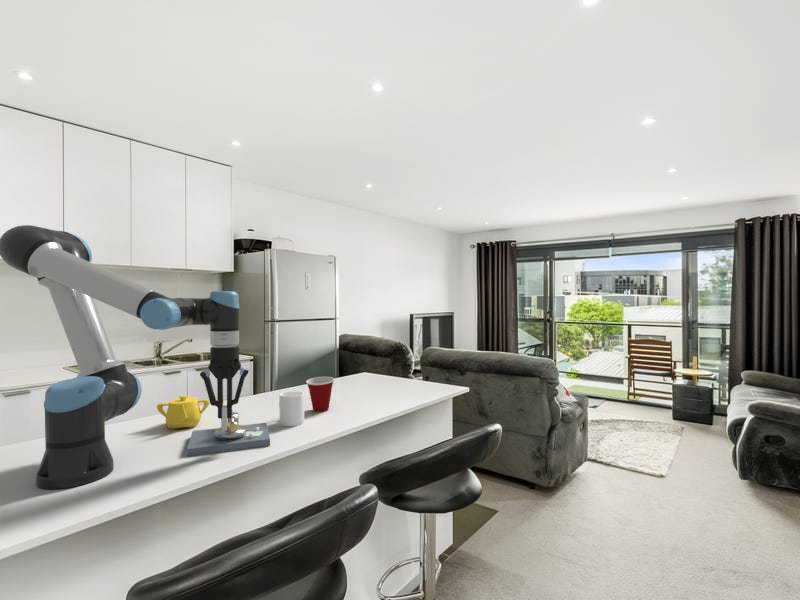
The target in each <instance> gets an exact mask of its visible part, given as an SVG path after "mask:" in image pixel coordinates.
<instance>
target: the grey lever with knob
mask: <svg viewBox="0 0 800 600" xmlns="http://www.w3.org/2000/svg"><path fill="white" fill-rule="evenodd" d="M220 420H221V423H220V424H221V425H220V426H221V427H217V428H218V429H216V430H215V431H214V437H215V438H217V439H234V438H238V437H242V436H244V435H245V434H246V433H247V428H246V427H245V426H242V425H243V424H241V425H240V424H239V412H235V411H233V409H232V416H231V418H228V425H227V431H222V418H220Z"/></svg>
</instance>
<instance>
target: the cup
mask: <svg viewBox="0 0 800 600" xmlns="http://www.w3.org/2000/svg"><path fill="white" fill-rule="evenodd" d="M278 397H279V398H278V399H279V402H278V404H279V405H278V406H279V407H278V408H279V424H280V425H281V426H283V427H297V426H300V425H303V423H305V393H304V391H299V390H297V391H293V390H291V391H285V392H282V393H280V394H279V396H278Z"/></svg>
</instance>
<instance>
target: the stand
mask: <svg viewBox="0 0 800 600" xmlns="http://www.w3.org/2000/svg"><path fill="white" fill-rule="evenodd" d="M241 425H242V426H245V427H246V428H247V433H246V434H245V435H244V436H242V437H238V438H234V439H217V438H215V437H214V431H215V430H216V429H218V428H219V427H217V428H216V427H215V428H208V429H205V428H204V429H197V430H193V431H192V432H191V435H190V438H189V441H188V444H187V447H186V457H192V456H199V455H207V454H213V453H214V454H216V453H222V452H223V453H224V452H230V451H238V450H246V449H254V448H262V447H268V446H271V437H270V433H269V430H268V425H267V423H266V422H263V423H252V424H244V425H243V424H241Z"/></svg>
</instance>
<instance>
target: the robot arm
mask: <svg viewBox="0 0 800 600" xmlns="http://www.w3.org/2000/svg"><path fill="white" fill-rule="evenodd" d="M0 257H1V260H2V261H4V263H6V264H7V265H8V266H10V267H11V268H13V269H15V270H18V271H20V272H22V273H25V274H28V275H29V276H31V277H34V278H37V281H38V284H39V285H41V286H43V287H46V288H47V289H48V291H49V294H50V295H51V298H52V302H53V304H54V306H55V309H56V311H57V315H58V317H59V320H60V322H61V324H62V327H63V330H64V333H65V335H66V338H67V340H68V343H69V345H70V349H71V352H72V354H73V356H74V359H75V362H76V365H77V367H78V369H79V372H78V374H77V375H76V376H75V377H73V378H70V379H68V378H67V379H65V380H60V381H58V382H55V383H53V384H52V385H50V386H49V387H48V388H47V389H46V391H45V395H44V402H43V408H44V422H45V423H44V433H45V435H44V438H45V440H44V441H45V449H44V453H43V456H42V458H41V461H40V464H39V467H38V470H37V471H36V472H37V473H36V477H35V479H36V481H35V483H36V487H38V488H39V489H43V490H44V489H45V490H60V489H61V490H62V489H67V488H74V487H78V486H82V485H85V484H88V483H92V482H95V481H99V480H100V479H102V478H104V477H106V476H108V475H109V474H111V473H112V472H113V471H114V467H115V466H114V465H115V464H114V463H115V462H114V458H113V455H112V453H111V451H110V449H109V446H108V443H107V441H106V426H105V425H106V423H105V422H108V421H109V420H111V419H115V418H116V417H119V416H122V415H124V414H126V413H128V412H129V411H130V410H131V409H132V408H134V407H135V406H136V405H137V403H138V402H139V401H140V399H141V395H142V388H143V387H142V383H141V381H140V379H139V378H138V377H137V375H136V374H134V373H132V372H130V371H128V370H127V367H126V365H125V362H124V361H120V360H119V359H117V358H116V355H115V352H114V350H113V348H112V345H111V342H110V339H109V337H108V335H107V332H106V329H105V327H104V324H103V321H102V319H101V316H100V312H99V311H98V308H97V305H96V303H95V300H97V301H99V302H101V303H103V304H106V305H108V306H111V307H113V308H115V309H117V310H120V311H122V312H125V313H127V314H129V315H131V316H133V317H136V318H137V319H140V320H141V322H142V323H143V324H144V325H145V326H146V327H147V328H150V329H152V330H162V331H163V330H169V329H172V328H178V327H185V326H203V325H204V326H208V325H209V327H210V329H209V330H210V334H209V336H210V337H209V339H210V340H209V341H210V343H209V344H210V346H211V347H210V351H209V352H210V353H209V357H210V359H209V362H210V363H209V365H208V366H207V367H208V368H206V369H205V370H202V371H201V372H200V374H199V376H200V377H201V379H202V380H203V381H204V385H205V390H206V392H207V396H208V400H209V404H210V406H215V407H217V418H218V419H220V420H221V418H222V431H227V425H228V418H231V416H232V410H233V406H234V405H238V403H239V400H240V397H241V393H242V389H243V385H244V383H245V382H244V381H245V378H246V377H247V376H248V374H249V371H250V370H249V369H248V368H245V367H243V366H242V364H241V362H240V347H239V344H240V302H239V301H240V300H239V294H238V292H237V291H226V290H224V291H223V290H220V291H218V290H217V291H215V290H214V291H211V292H210V294H209V297H207V298H206V297H205V298H198V297H197V298H195V297H194V298H193V297H188V298H187V297H186V298H185V297H184V298H183V297H174V298H170V297H168V296H165V295H163V294H162V293H159V292H157V291H155V290H152V289H150V288H148V287H146V286H144V285H142V284H140V283H137V282H134V281H132V280H131V279H128V278H126V277H123V276H121V275H119V274H117V273H115V272H112V271H110V270H108V269H106V268H103V267H102V266H99V265H98V264H97V265H96V264H94V263H93V262H92V260H93V255H92V250H91V248H90V246H89V244H88V243H87V242H86V241H85V240H84V239H83V238H81V236H78V235H76V234H73V233H70V232H67V231H63V230H54V229H50V228H47V227H46V228H45V227H41V226H37V225H31V224H26V225H25V224H24V225H16V226H15V227H11V228H10V229H7V230H6V231H4V233H3V234H2V235H1V236H0ZM94 299H95V300H94ZM238 372H239V373H238ZM211 374H212V376H213V377H214V378H215V379H216V383H217V388H216V389H217V394H215V392H214V388H213V385H212V381H211V377H210V376H211ZM236 374H239V376H240V377H239V381H238V385H237V388H236V391H235V395H234V398H233V378H234V377H235V376H236ZM224 379H225V380H226V404H224ZM216 395H217V399H216Z"/></svg>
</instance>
